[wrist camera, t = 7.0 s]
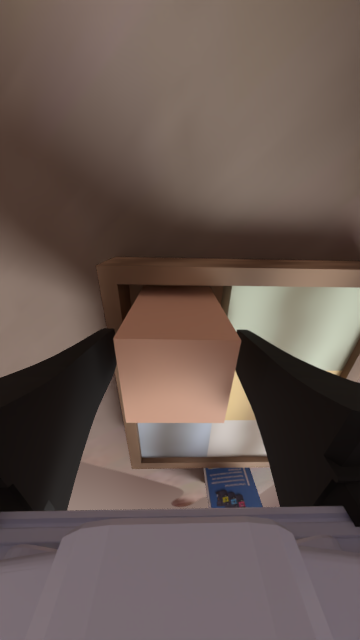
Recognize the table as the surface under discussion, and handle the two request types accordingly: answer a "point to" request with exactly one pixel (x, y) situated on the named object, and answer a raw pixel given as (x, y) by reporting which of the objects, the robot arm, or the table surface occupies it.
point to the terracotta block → (176, 356)
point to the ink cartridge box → (231, 488)
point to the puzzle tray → (212, 276)
